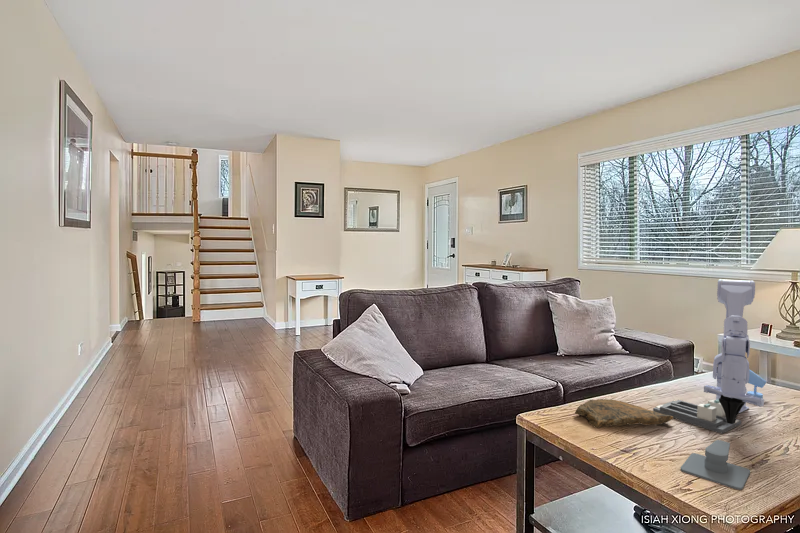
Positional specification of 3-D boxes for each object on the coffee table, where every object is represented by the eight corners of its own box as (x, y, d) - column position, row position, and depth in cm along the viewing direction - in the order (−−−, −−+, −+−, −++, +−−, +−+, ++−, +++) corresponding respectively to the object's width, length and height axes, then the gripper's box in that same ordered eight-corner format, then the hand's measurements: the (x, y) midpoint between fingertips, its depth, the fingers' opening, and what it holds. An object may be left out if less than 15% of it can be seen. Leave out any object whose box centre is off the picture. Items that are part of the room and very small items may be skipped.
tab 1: (701, 417, 142) (702, 401, 141) (715, 422, 138) (716, 405, 138) (696, 419, 140) (697, 403, 140) (711, 424, 137) (712, 407, 136)
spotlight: (741, 397, 164) (765, 401, 160) (742, 370, 164) (767, 373, 160) (741, 393, 168) (765, 397, 164) (742, 367, 168) (766, 370, 164)
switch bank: (673, 404, 157) (673, 397, 157) (741, 424, 140) (741, 417, 140) (653, 411, 150) (653, 405, 150) (722, 433, 133) (722, 426, 133)
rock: (621, 395, 157) (679, 414, 139) (620, 411, 157) (678, 432, 139) (569, 400, 146) (625, 421, 128) (567, 417, 146) (623, 441, 128)
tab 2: (711, 413, 146) (712, 397, 145) (725, 417, 142) (726, 401, 142) (707, 414, 144) (708, 399, 144) (721, 419, 141) (722, 403, 140)
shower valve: (753, 448, 113) (742, 469, 103) (752, 469, 113) (741, 492, 103) (695, 432, 122) (680, 450, 111) (694, 452, 122) (679, 472, 112)
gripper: (699, 373, 137) (697, 417, 138) (757, 386, 125) (754, 434, 125) (710, 369, 141) (708, 412, 141) (768, 382, 128) (765, 429, 129)
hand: (731, 422), depth 134 cm, fingers closed
